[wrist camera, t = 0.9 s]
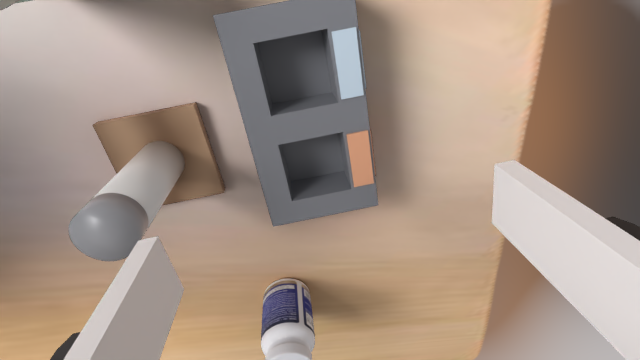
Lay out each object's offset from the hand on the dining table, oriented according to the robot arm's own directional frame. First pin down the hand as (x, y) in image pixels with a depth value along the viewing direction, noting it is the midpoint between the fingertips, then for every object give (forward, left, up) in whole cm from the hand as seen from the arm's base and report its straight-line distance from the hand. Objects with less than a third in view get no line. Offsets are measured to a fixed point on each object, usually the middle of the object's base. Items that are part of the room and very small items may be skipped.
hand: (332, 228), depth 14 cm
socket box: (0, -1, -21) cm, 21 cm away
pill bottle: (-7, -23, -21) cm, 32 cm away
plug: (-14, -3, -20) cm, 25 cm away
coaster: (-14, -3, -21) cm, 25 cm away
